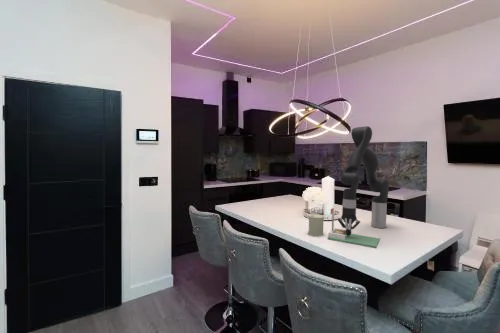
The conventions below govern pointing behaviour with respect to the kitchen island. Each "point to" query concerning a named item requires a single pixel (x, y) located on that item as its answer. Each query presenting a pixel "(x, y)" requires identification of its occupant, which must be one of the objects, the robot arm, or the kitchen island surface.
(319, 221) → the can
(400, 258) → the kitchen island surface
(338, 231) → the puck
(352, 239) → the putting green
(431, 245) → the kitchen island surface
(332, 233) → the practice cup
